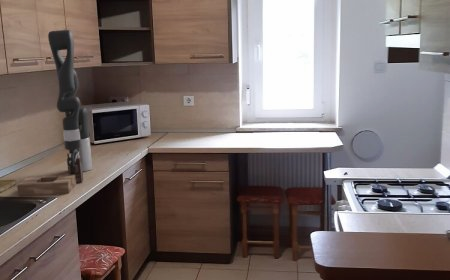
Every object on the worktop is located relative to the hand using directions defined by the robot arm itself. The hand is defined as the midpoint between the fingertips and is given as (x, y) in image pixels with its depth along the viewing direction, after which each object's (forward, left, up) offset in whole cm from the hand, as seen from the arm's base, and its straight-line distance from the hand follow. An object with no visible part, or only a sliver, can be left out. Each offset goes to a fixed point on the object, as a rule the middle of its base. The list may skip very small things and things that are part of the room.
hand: (75, 171), depth 232 cm
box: (0, 0, -5) cm, 5 cm away
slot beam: (+12, -10, -5) cm, 16 cm away
